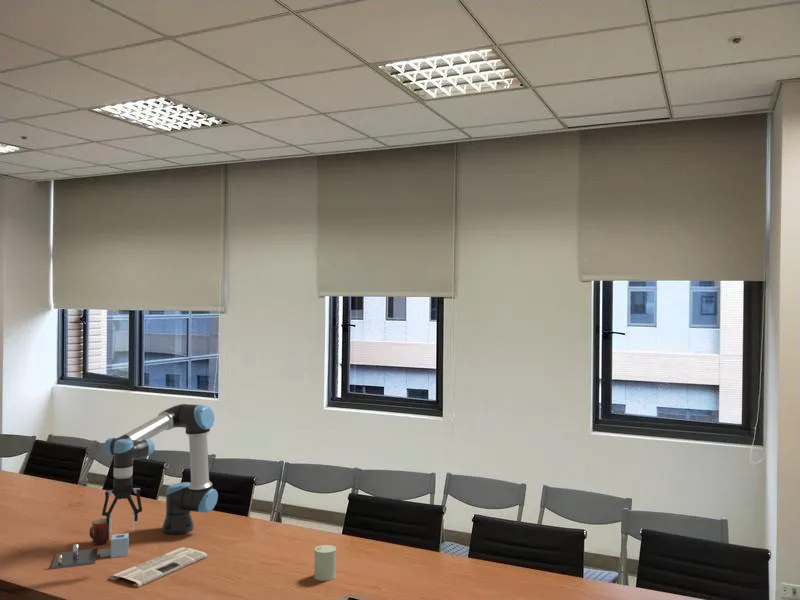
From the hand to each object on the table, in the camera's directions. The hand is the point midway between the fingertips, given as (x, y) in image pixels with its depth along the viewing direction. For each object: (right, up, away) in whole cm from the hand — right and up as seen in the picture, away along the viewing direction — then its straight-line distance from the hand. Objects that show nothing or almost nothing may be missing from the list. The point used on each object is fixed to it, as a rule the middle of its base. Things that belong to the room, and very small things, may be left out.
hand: (121, 530), depth 266 cm
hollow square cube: (-12, -18, +18) cm, 28 cm away
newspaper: (+14, -18, +4) cm, 24 cm away
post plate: (-26, -18, +13) cm, 34 cm away
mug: (-26, -19, +32) cm, 45 cm away
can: (+87, -18, -5) cm, 89 cm away
